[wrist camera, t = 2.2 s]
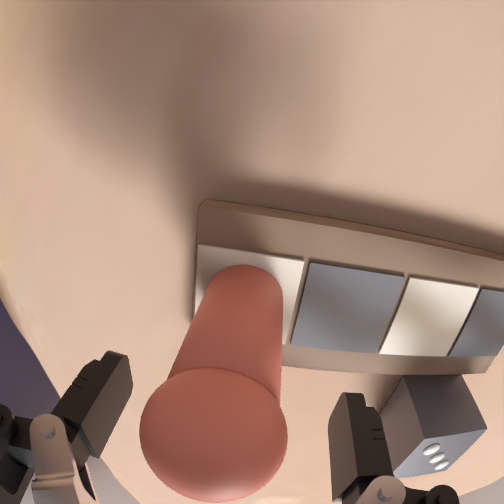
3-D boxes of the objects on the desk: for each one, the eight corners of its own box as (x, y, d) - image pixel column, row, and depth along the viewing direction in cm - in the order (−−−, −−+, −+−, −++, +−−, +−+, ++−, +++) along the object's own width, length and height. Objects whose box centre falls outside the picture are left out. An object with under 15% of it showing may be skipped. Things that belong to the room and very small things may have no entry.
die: (403, 375, 19) (424, 440, 14) (461, 374, 19) (488, 429, 13) (373, 422, 22) (384, 481, 16) (429, 419, 21) (445, 471, 16)
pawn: (203, 252, 15) (100, 437, 5) (297, 266, 15) (304, 480, 5) (199, 326, 17) (134, 497, 7) (280, 339, 17) (268, 525, 7)
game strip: (205, 199, 16) (197, 207, 14) (526, 260, 15) (539, 271, 13) (198, 335, 19) (191, 352, 18) (477, 361, 18) (486, 374, 17)
